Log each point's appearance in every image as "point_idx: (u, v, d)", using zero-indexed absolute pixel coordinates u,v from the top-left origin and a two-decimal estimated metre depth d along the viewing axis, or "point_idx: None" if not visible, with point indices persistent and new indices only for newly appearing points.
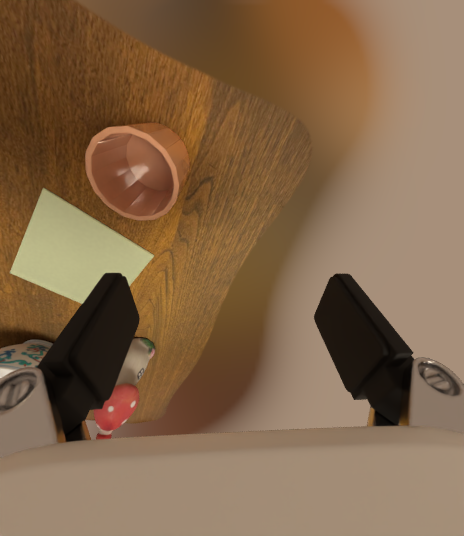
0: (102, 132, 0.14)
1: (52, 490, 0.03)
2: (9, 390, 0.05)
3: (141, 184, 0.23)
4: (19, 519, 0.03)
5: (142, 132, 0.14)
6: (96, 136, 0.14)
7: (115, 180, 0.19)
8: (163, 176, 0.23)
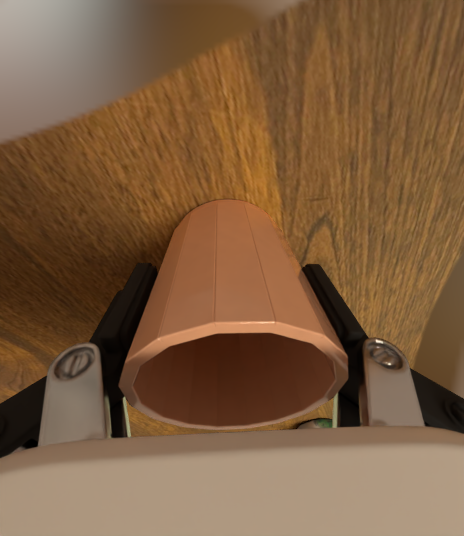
0: (125, 373, 0.05)
1: (52, 490, 0.03)
2: (71, 361, 0.06)
3: None
4: (19, 519, 0.03)
5: (197, 326, 0.05)
6: (122, 382, 0.06)
7: (198, 348, 0.10)
8: None
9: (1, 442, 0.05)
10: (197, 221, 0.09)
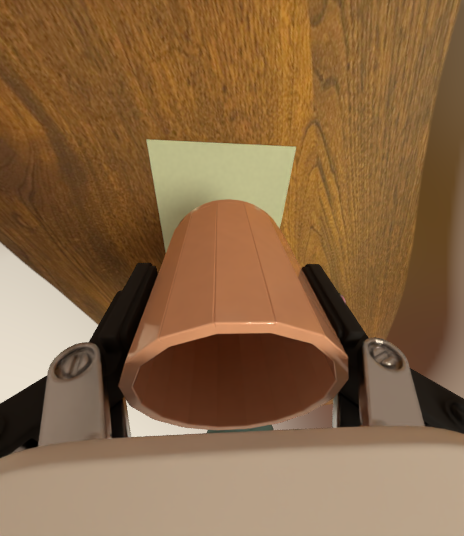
0: (124, 374, 0.05)
1: (52, 490, 0.03)
2: (71, 361, 0.06)
3: None
4: (19, 519, 0.03)
5: (197, 326, 0.05)
6: (122, 382, 0.06)
7: (197, 348, 0.10)
8: None
9: (1, 442, 0.05)
10: (197, 221, 0.09)
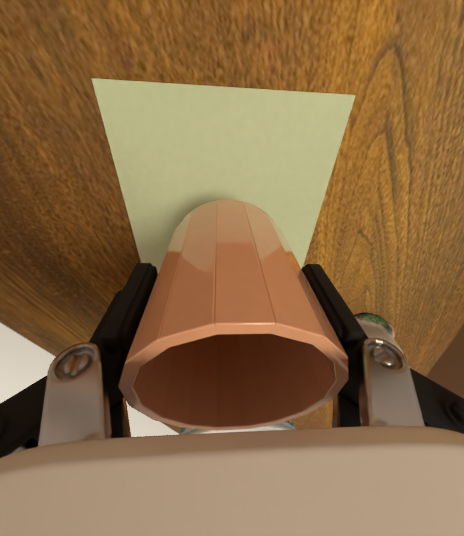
0: (124, 374, 0.05)
1: (52, 490, 0.03)
2: (71, 361, 0.06)
3: None
4: (19, 519, 0.03)
5: (197, 327, 0.05)
6: (122, 383, 0.06)
7: (197, 348, 0.10)
8: None
9: (1, 442, 0.05)
10: (197, 221, 0.09)
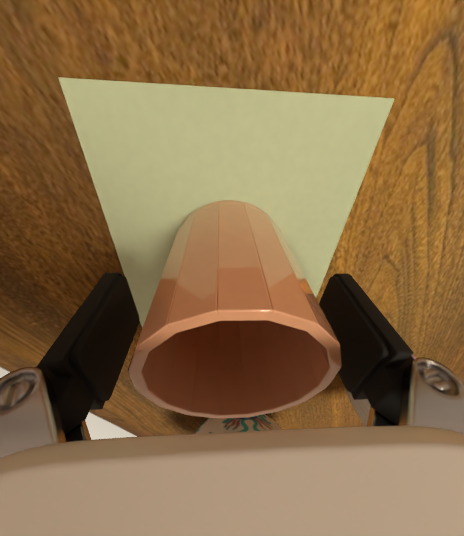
0: (134, 359, 0.06)
1: (52, 490, 0.03)
2: (9, 390, 0.05)
3: None
4: (19, 519, 0.03)
5: (202, 313, 0.05)
6: (131, 368, 0.06)
7: (200, 342, 0.11)
8: None
9: None
10: (200, 221, 0.10)
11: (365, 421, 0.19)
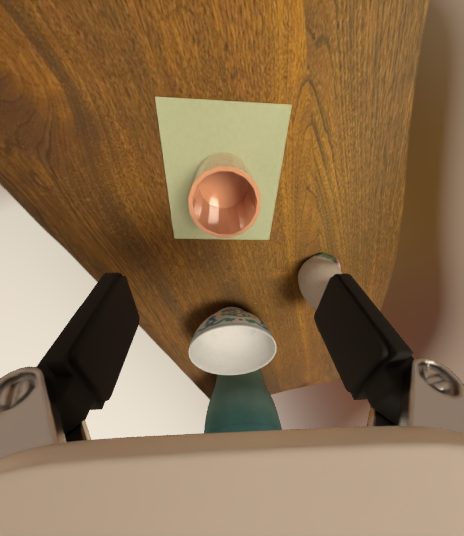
0: (191, 189, 0.19)
1: (52, 490, 0.03)
2: (9, 390, 0.05)
3: (223, 209, 0.27)
4: (19, 519, 0.03)
5: (213, 168, 0.18)
6: (189, 195, 0.19)
7: (209, 217, 0.24)
8: (233, 191, 0.26)
9: None
10: (210, 158, 0.22)
11: (306, 297, 0.32)
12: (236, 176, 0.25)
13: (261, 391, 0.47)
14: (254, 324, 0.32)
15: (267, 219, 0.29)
